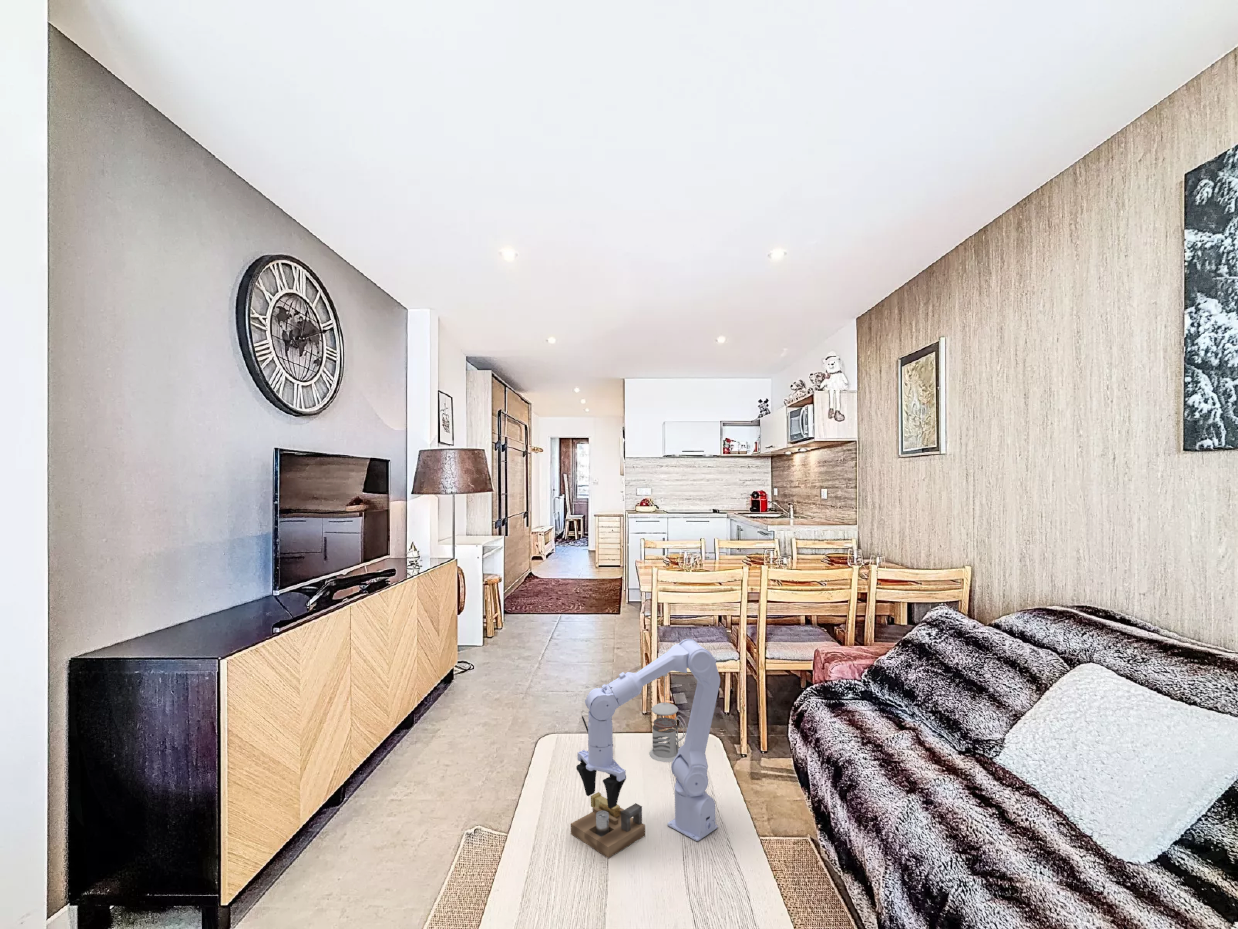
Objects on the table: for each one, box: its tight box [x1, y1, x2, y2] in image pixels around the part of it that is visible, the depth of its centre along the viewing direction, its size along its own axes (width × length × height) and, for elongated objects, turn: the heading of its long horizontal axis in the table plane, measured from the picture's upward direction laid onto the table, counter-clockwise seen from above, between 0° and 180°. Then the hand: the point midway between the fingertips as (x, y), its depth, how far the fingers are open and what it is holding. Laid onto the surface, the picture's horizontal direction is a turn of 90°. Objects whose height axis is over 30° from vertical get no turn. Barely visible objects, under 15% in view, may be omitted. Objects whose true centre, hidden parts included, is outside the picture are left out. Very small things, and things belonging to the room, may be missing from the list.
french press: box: [648, 673, 688, 763], centre depth 188 cm, size 10×12×25 cm
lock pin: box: [590, 791, 621, 818], centre depth 154 cm, size 8×3×3 cm, turn 44°
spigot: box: [596, 811, 609, 837], centre depth 147 cm, size 3×3×6 cm
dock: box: [570, 803, 646, 859], centre depth 148 cm, size 13×12×6 cm
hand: (601, 800), depth 146 cm, fingers open, 7 cm apart
